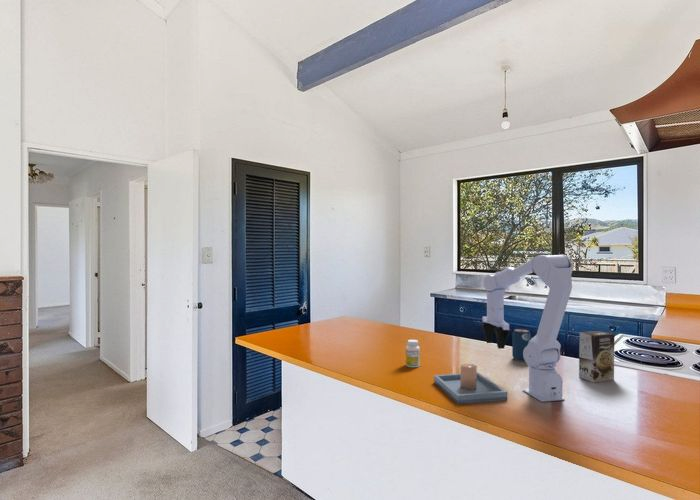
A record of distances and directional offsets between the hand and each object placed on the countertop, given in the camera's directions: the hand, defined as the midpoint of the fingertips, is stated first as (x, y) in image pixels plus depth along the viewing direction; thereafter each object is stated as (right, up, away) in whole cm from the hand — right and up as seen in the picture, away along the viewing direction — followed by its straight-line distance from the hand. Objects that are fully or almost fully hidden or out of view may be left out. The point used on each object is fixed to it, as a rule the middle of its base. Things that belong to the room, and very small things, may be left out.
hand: (495, 345), depth 140 cm
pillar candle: (-15, -10, -16) cm, 23 cm away
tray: (-14, -11, -16) cm, 24 cm away
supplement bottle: (-28, -11, +10) cm, 32 cm away
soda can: (+17, -10, +17) cm, 27 cm away
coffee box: (+33, -11, -5) cm, 35 cm away
